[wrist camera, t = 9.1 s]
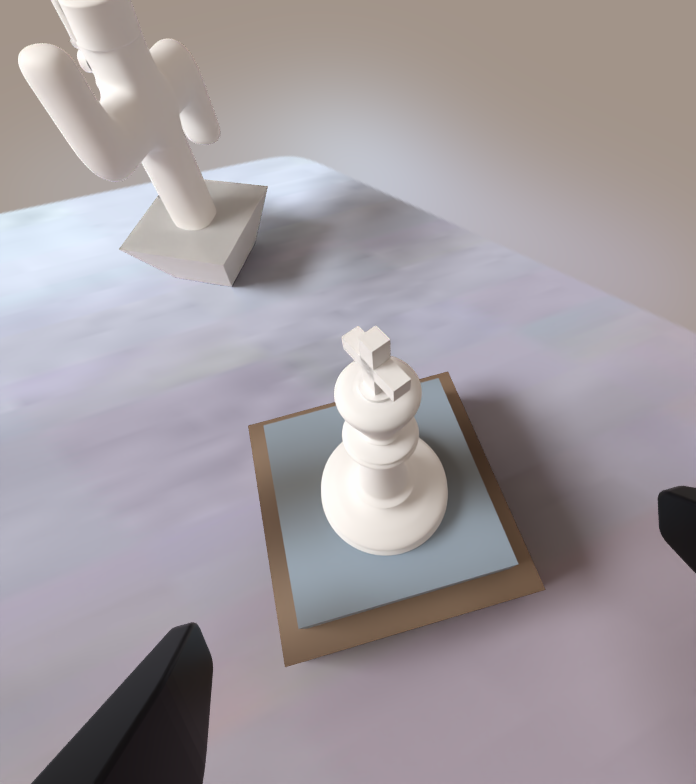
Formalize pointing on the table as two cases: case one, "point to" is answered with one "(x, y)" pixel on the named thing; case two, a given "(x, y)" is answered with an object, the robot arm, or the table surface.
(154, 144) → the figurine
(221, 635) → the table surface
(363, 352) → the chess piece
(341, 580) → the stepped pedestal base
